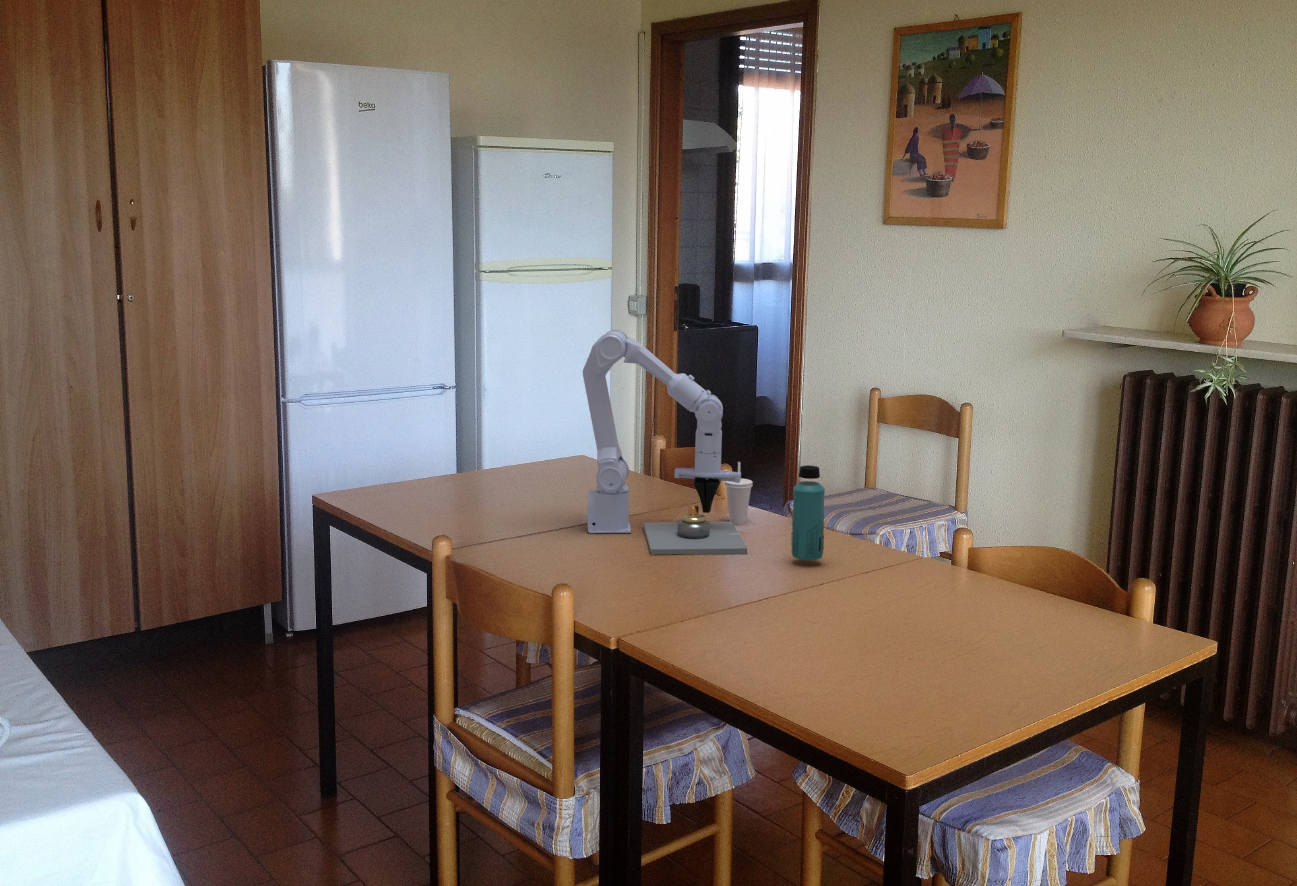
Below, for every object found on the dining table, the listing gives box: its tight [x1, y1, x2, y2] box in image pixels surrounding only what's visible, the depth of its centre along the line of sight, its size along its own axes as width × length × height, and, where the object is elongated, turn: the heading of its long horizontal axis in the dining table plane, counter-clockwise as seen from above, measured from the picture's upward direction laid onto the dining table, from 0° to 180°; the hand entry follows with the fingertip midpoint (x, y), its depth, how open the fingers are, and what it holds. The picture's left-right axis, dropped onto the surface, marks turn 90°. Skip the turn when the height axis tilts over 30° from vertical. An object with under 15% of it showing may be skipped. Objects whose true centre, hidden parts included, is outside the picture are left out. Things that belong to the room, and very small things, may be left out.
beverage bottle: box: [790, 464, 826, 561], centre depth 233 cm, size 6×7×20 cm
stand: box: [642, 521, 748, 555], centre depth 250 cm, size 20×22×1 cm
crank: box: [677, 503, 711, 538], centre depth 252 cm, size 12×7×4 cm, turn 178°
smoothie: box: [724, 461, 754, 525], centre depth 265 cm, size 6×6×14 cm
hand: (706, 511), depth 256 cm, fingers closed
